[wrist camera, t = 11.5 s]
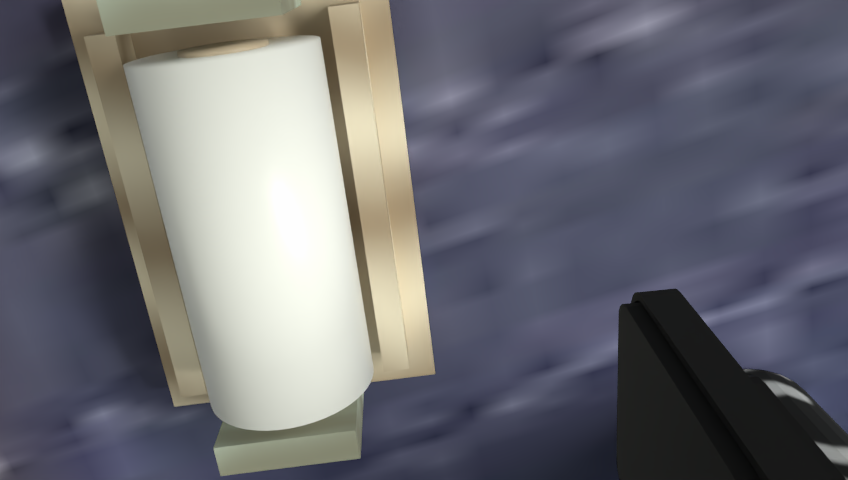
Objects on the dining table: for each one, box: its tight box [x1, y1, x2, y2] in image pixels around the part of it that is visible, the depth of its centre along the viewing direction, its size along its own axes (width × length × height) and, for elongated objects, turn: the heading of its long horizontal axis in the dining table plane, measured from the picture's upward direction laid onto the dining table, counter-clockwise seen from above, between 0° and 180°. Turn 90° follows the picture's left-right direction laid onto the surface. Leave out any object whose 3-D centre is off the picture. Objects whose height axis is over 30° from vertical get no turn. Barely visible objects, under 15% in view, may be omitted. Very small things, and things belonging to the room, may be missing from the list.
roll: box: [123, 35, 374, 431], centre depth 25 cm, size 12×6×6 cm, turn 7°
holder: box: [61, 0, 435, 476], centre depth 26 cm, size 16×11×6 cm
